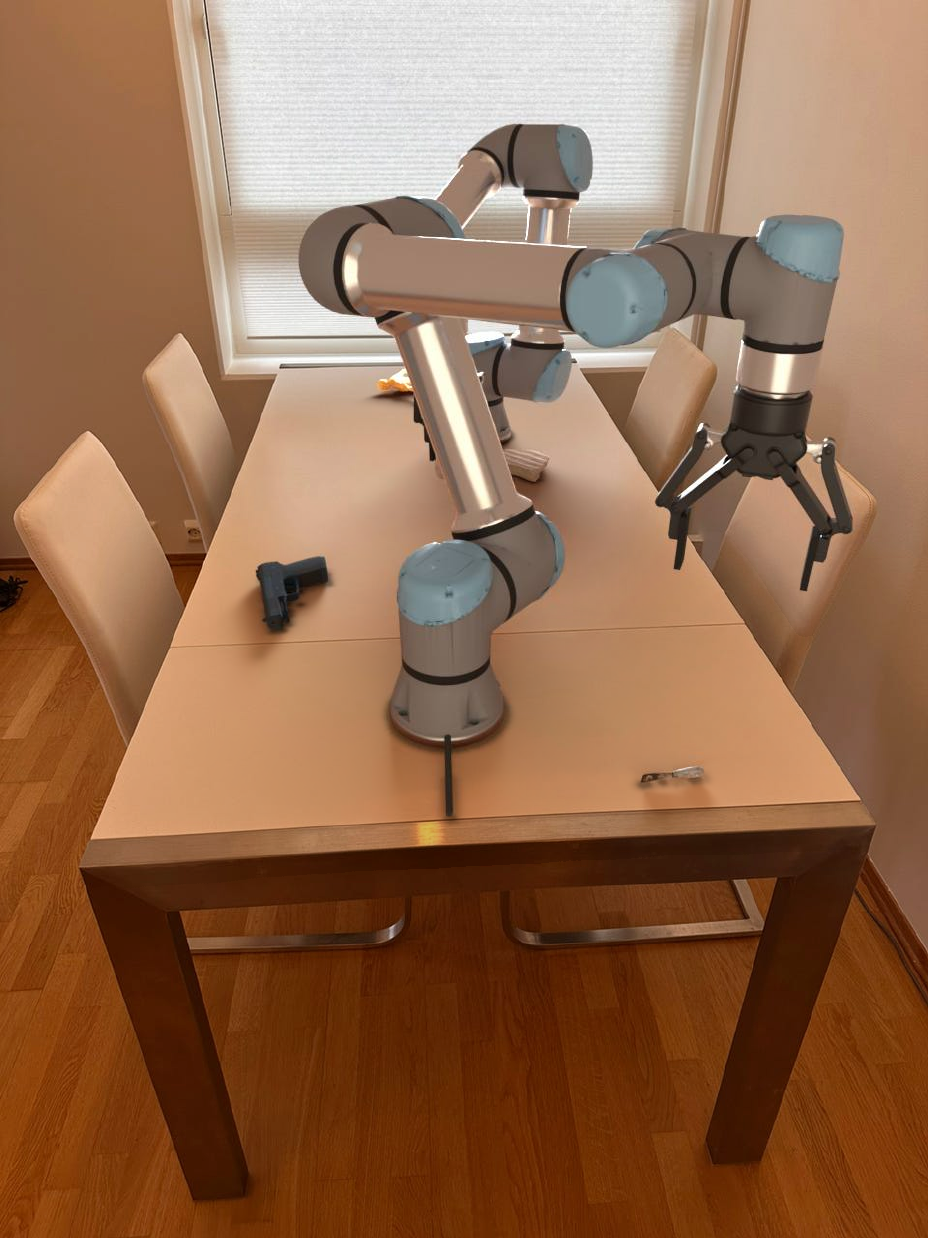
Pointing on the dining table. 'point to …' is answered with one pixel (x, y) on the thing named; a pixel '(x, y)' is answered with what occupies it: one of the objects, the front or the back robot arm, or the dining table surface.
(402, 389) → the orange white flat wedge
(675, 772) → the putty knife
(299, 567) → the handgun
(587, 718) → the dining table surface
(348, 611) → the dining table surface
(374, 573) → the dining table surface
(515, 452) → the beige ridged slab
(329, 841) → the dining table surface
